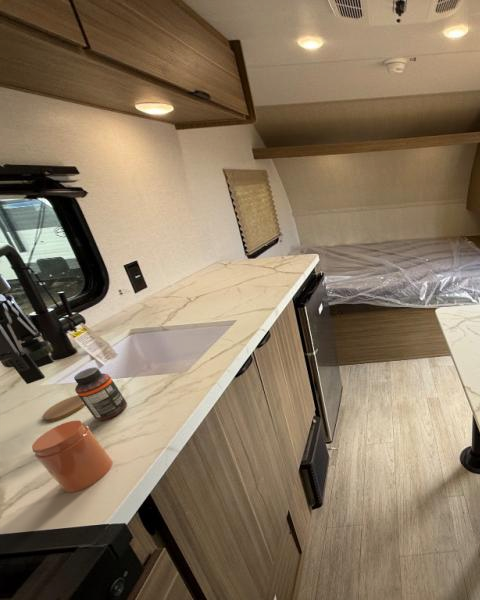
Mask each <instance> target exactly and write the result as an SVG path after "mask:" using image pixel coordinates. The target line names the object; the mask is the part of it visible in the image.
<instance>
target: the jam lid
mask: <svg viewBox="0 0 480 600" xmlns="http://www.w3.org/2000/svg"><path fill="white" fill-rule="evenodd" d="M39 341H40V342H36V343H32V344H28V345H25V346H21V348H22V350H23V352H24V353H26V352H27V353H28V354H29V356H30V357H31V358H32V360H33V361H35V360H38V359H40V358H42V357H44V356H46V355H47V354H49V355H50V353H52V352H54V346H53V345H52V343H50V341H48V340H39ZM0 363H1V364H2V365H3V367H4V368H7V369H8V368H10V369H11V368H14V367H13V366H12V364H11V363H10V362H9V360H5V361H2V362H1V361H0Z"/></svg>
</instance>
